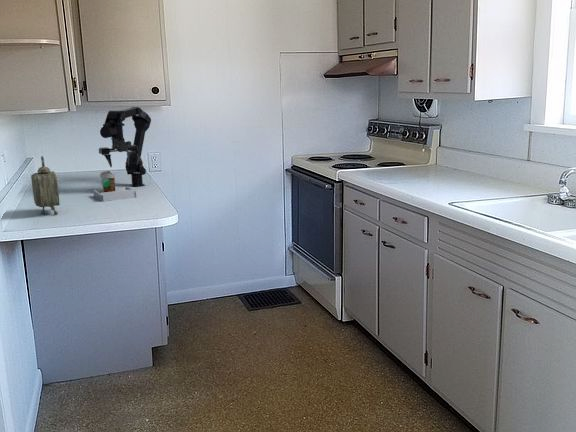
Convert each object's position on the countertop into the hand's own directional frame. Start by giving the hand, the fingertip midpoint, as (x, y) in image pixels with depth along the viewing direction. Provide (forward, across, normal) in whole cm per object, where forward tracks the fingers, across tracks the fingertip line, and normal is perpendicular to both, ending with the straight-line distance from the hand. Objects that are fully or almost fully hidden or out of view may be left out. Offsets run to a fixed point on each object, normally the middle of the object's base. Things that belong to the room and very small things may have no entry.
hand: (120, 166), depth 294 cm
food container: (+13, -7, +2) cm, 15 cm away
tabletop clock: (+12, -43, -28) cm, 53 cm away
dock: (+13, -8, -12) cm, 19 cm away
